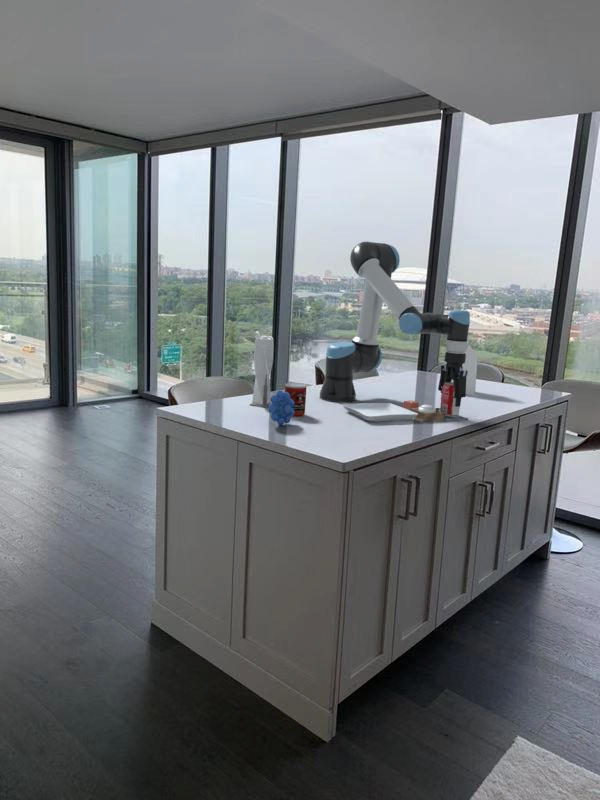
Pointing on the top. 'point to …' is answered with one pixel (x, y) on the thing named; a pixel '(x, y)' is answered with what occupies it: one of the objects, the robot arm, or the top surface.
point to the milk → (470, 370)
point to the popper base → (428, 415)
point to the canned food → (297, 397)
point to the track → (455, 419)
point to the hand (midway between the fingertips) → (449, 412)
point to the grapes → (281, 407)
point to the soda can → (447, 398)
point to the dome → (427, 409)
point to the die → (410, 404)
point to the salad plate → (380, 412)
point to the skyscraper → (262, 370)
